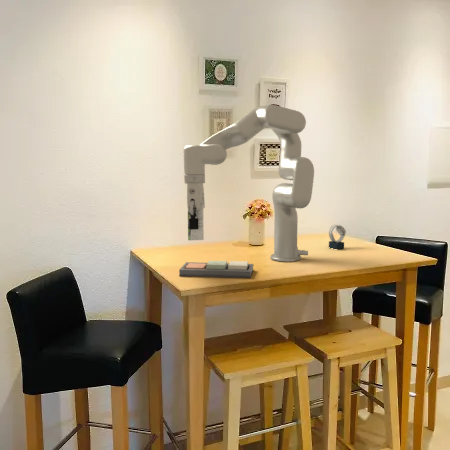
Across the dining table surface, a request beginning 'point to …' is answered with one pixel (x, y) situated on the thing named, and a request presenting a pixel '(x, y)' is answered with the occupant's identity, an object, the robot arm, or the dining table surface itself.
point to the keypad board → (216, 272)
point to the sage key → (216, 265)
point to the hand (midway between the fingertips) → (195, 227)
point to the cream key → (238, 265)
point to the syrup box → (198, 233)
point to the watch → (338, 243)
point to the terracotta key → (195, 266)
